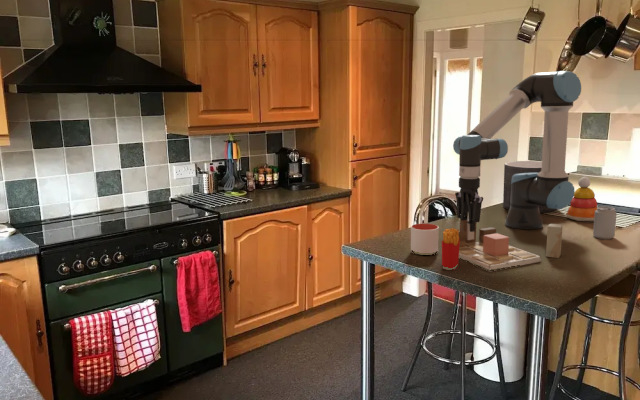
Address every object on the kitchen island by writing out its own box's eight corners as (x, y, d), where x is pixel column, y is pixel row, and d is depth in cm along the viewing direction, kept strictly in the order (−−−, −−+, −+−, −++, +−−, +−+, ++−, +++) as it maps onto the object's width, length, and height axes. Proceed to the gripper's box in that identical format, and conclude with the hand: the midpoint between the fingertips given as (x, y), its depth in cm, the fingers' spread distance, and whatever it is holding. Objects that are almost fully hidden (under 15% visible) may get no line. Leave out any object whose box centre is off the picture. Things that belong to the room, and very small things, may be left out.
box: (558, 258, 180) (560, 227, 178) (545, 256, 182) (547, 226, 180) (560, 254, 184) (562, 224, 182) (547, 252, 187) (549, 223, 185)
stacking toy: (589, 215, 240) (593, 173, 237) (607, 222, 226) (611, 178, 223) (559, 216, 240) (562, 174, 236) (575, 223, 226) (578, 179, 222)
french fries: (450, 272, 170) (451, 233, 167) (438, 269, 172) (439, 232, 170) (461, 264, 177) (462, 227, 174) (449, 262, 179) (450, 226, 177)
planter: (566, 207, 256) (570, 163, 252) (540, 216, 241) (543, 169, 236) (519, 200, 276) (521, 159, 271) (492, 208, 260) (494, 164, 256)
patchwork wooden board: (448, 249, 191) (448, 233, 189) (491, 242, 198) (491, 227, 197) (489, 266, 171) (489, 249, 169) (534, 258, 178) (535, 241, 177)
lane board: (445, 252, 191) (445, 247, 190) (492, 244, 199) (492, 239, 199) (489, 271, 169) (489, 266, 169) (540, 261, 177) (540, 256, 177)
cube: (483, 251, 183) (483, 235, 182) (496, 249, 186) (497, 233, 184) (494, 256, 178) (495, 239, 177) (508, 253, 180) (509, 237, 179)
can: (617, 240, 199) (619, 210, 197) (596, 239, 201) (598, 209, 199) (610, 235, 207) (613, 205, 204) (590, 234, 208) (592, 205, 206)
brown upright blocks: (459, 244, 196) (459, 220, 194) (471, 242, 198) (472, 218, 196) (499, 260, 176) (501, 234, 174) (513, 258, 178) (514, 231, 176)
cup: (422, 258, 184) (422, 231, 182) (405, 251, 193) (405, 225, 191) (444, 254, 189) (444, 227, 187) (426, 247, 198) (426, 222, 196)
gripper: (448, 175, 196) (446, 235, 201) (475, 181, 182) (473, 245, 187) (464, 173, 199) (462, 232, 204) (492, 179, 185) (489, 242, 190)
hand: (467, 238), depth 195 cm, fingers closed on brown upright blocks, 2 cm apart
